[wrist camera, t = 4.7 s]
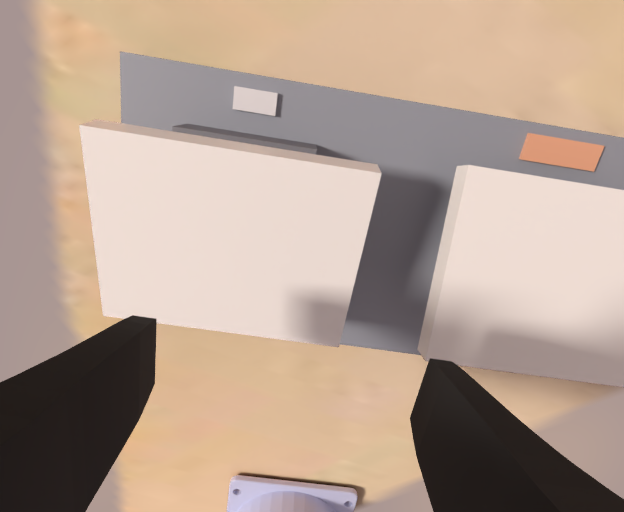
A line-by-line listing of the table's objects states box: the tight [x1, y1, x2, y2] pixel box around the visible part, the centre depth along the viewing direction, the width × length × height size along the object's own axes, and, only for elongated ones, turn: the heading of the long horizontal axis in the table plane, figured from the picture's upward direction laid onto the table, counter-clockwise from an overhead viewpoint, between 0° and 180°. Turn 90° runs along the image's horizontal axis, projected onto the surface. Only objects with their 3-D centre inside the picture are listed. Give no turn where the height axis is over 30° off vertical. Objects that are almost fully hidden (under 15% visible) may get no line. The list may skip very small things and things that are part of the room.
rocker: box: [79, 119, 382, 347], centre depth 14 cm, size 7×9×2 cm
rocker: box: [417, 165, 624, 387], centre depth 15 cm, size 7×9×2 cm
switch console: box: [120, 52, 624, 355], centre depth 17 cm, size 11×22×4 cm, turn 81°
